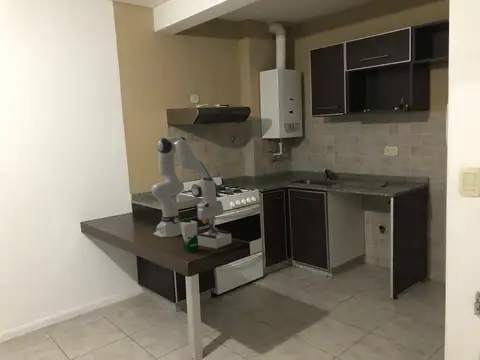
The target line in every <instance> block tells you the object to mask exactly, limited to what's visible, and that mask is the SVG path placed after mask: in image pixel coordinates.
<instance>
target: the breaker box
mask: <svg viewBox="0 0 480 360" xmlns="http://www.w3.org/2000/svg"><path fill="white" fill-rule="evenodd" d="M214 230H216V233H214V234H212V230H210V229H208V230H207V231H206V232H203V233H202V234H207V235H213V236H216V239H213V238H208V237H202V236H198V245H199V246H203V247H206V248H207V247H208V248H211V249H215V250H216V249H218V248H219V249H220V248H221V247H224V246H228V245H230V244H232V242H233V240H232V239H233V238H232V233H230V234H224V233H218V230H219V229H218V228H217V227H214Z"/></svg>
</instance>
